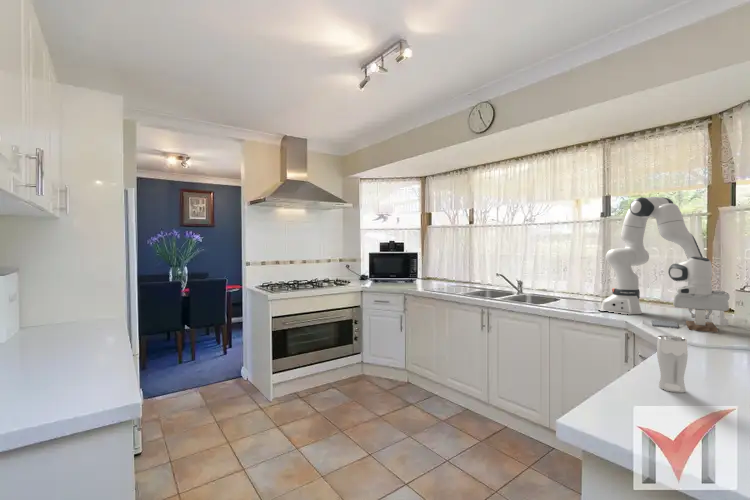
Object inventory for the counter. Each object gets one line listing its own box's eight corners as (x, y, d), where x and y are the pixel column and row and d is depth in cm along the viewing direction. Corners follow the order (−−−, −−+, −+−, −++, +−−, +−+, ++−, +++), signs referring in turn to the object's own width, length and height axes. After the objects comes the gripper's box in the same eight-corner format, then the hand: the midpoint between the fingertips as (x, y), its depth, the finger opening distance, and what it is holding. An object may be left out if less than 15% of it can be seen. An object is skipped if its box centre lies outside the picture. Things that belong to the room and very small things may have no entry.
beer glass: (651, 385, 109) (650, 335, 109) (672, 383, 109) (672, 334, 109) (671, 394, 102) (671, 341, 102) (694, 393, 102) (694, 340, 102)
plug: (695, 328, 176) (696, 309, 176) (694, 326, 180) (694, 308, 180) (705, 329, 174) (705, 310, 174) (703, 327, 178) (704, 308, 178)
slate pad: (652, 325, 183) (652, 324, 183) (651, 321, 192) (651, 320, 192) (678, 328, 177) (678, 326, 177) (675, 323, 187) (675, 322, 187)
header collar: (689, 329, 174) (689, 325, 174) (685, 324, 185) (685, 320, 185) (717, 332, 168) (717, 328, 168) (712, 326, 179) (712, 322, 179)
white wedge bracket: (726, 322, 177) (719, 305, 181) (713, 328, 186) (707, 312, 190) (735, 322, 177) (728, 305, 181) (722, 328, 185) (715, 312, 189)
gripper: (728, 290, 173) (728, 319, 173) (672, 288, 185) (672, 314, 185) (730, 292, 168) (730, 321, 168) (673, 289, 180) (673, 317, 180)
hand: (699, 318), depth 177 cm, fingers closed on plug, 3 cm apart
